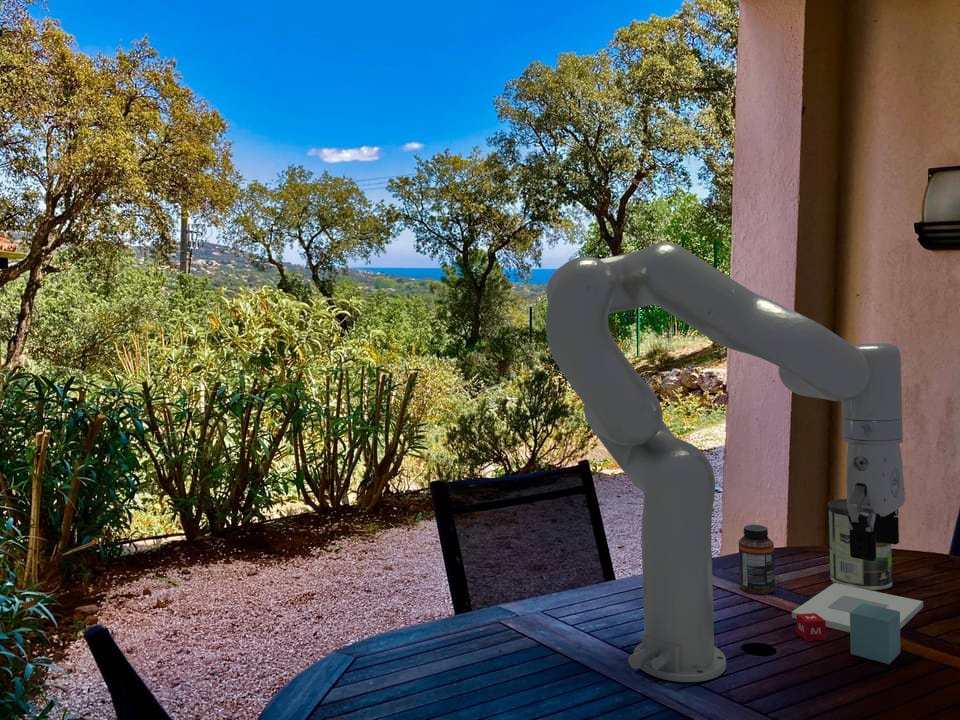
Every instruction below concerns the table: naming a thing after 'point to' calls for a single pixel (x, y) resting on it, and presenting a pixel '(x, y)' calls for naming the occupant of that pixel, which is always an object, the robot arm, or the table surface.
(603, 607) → the table surface
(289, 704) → the table surface
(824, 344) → the robot arm
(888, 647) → the teal block
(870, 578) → the coffee can
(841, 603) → the pad
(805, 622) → the red letter cube
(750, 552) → the supplement bottle
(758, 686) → the table surface
